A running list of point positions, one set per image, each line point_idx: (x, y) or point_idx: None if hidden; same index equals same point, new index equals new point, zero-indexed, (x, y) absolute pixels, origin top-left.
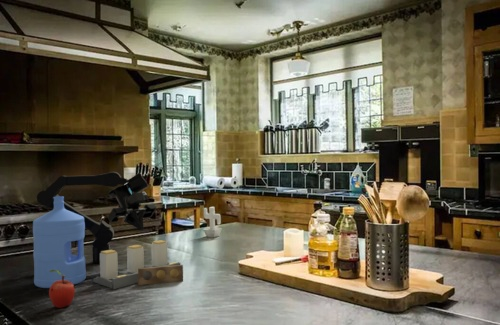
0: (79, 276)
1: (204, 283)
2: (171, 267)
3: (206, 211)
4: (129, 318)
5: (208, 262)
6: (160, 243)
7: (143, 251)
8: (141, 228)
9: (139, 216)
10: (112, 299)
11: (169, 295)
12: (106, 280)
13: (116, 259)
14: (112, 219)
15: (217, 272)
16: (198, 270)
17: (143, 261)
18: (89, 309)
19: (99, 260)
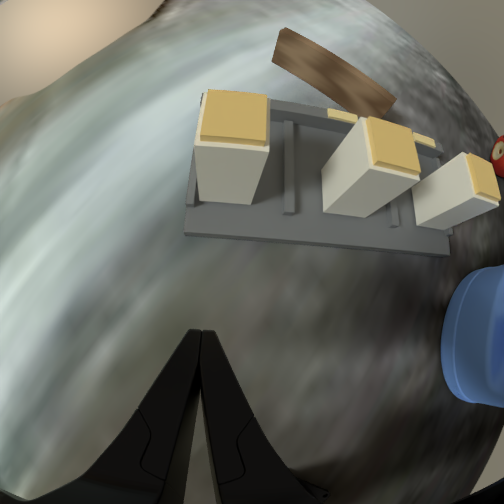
0: (479, 270)
1: (258, 25)
2: (313, 44)
3: None
4: (431, 57)
5: (67, 127)
6: (249, 97)
7: (353, 127)
8: (216, 337)
9: (160, 485)
10: (439, 115)
11: (355, 44)
12: None
13: (450, 163)
14: (474, 494)
15: (162, 45)
16: (166, 82)
17: (336, 152)
18: (469, 119)
19: (310, 490)
